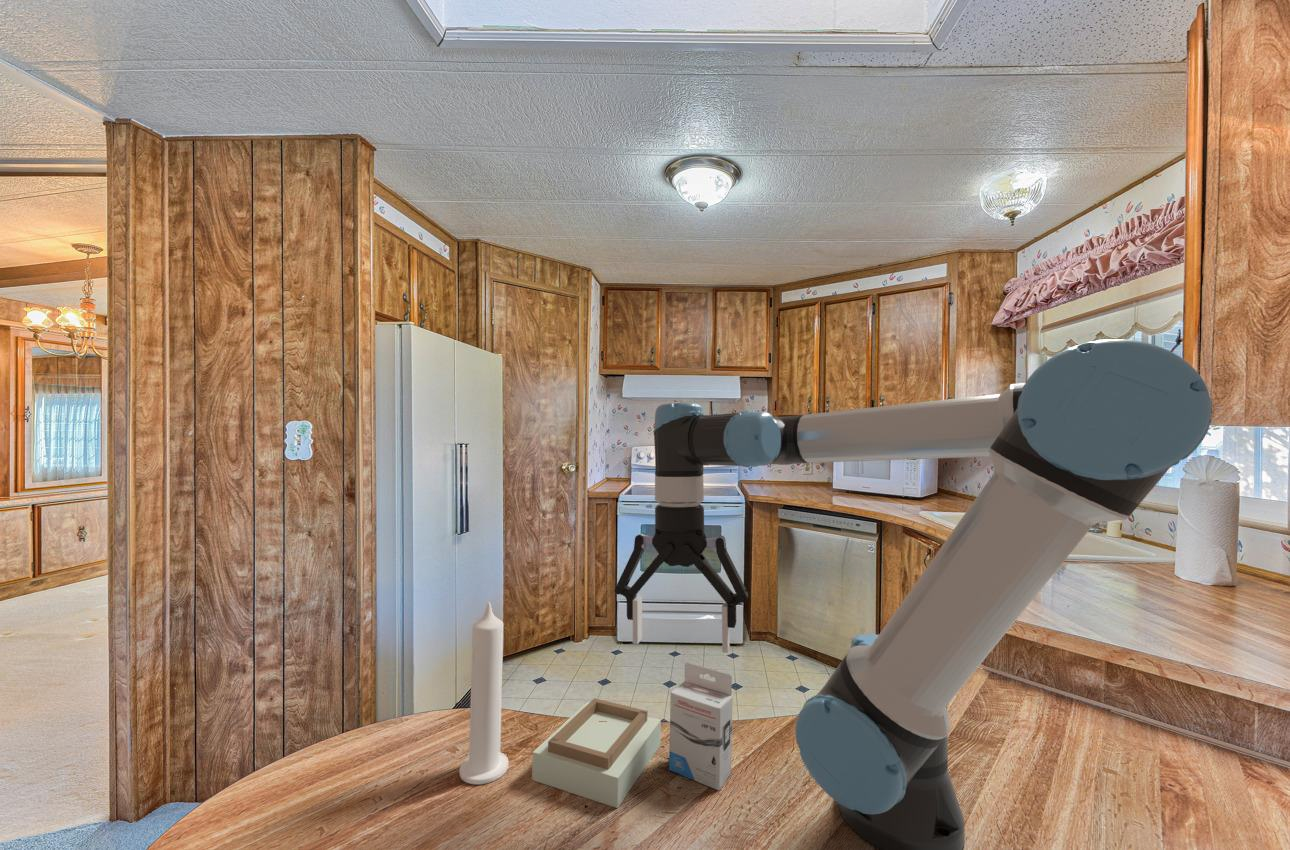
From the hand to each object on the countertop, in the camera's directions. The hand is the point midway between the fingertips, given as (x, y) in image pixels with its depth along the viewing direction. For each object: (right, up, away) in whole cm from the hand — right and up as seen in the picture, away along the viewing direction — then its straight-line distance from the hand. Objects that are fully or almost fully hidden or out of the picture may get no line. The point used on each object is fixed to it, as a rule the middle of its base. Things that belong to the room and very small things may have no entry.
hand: (680, 645), depth 76 cm
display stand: (-12, -19, +2) cm, 23 cm away
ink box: (+3, -20, 0) cm, 20 cm away
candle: (-30, -19, 0) cm, 35 cm away
